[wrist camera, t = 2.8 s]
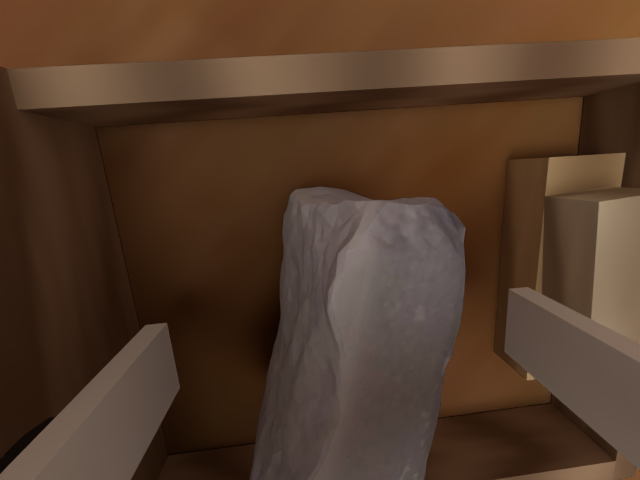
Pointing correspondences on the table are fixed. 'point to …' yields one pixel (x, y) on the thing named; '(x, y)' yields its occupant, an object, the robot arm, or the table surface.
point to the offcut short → (595, 255)
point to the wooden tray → (242, 102)
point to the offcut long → (539, 220)
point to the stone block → (360, 337)
